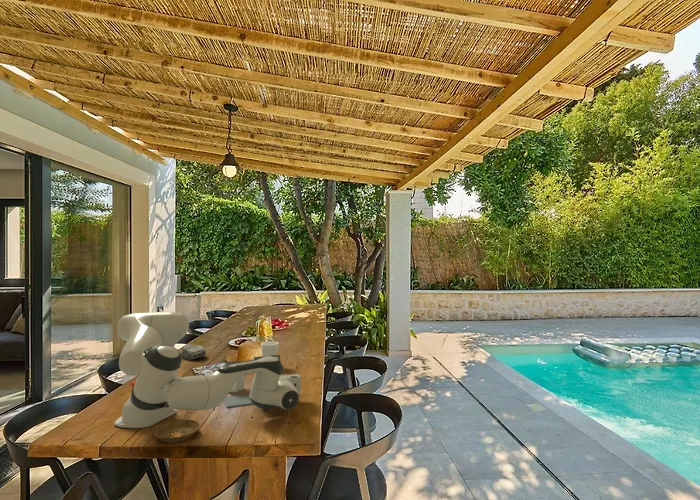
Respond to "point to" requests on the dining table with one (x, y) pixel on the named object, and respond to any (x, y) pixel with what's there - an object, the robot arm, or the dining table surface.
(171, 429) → the plant saucer
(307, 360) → the dining table surface
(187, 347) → the decorative stone
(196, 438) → the dining table surface
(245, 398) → the mat
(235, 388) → the jar
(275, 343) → the foam cup
